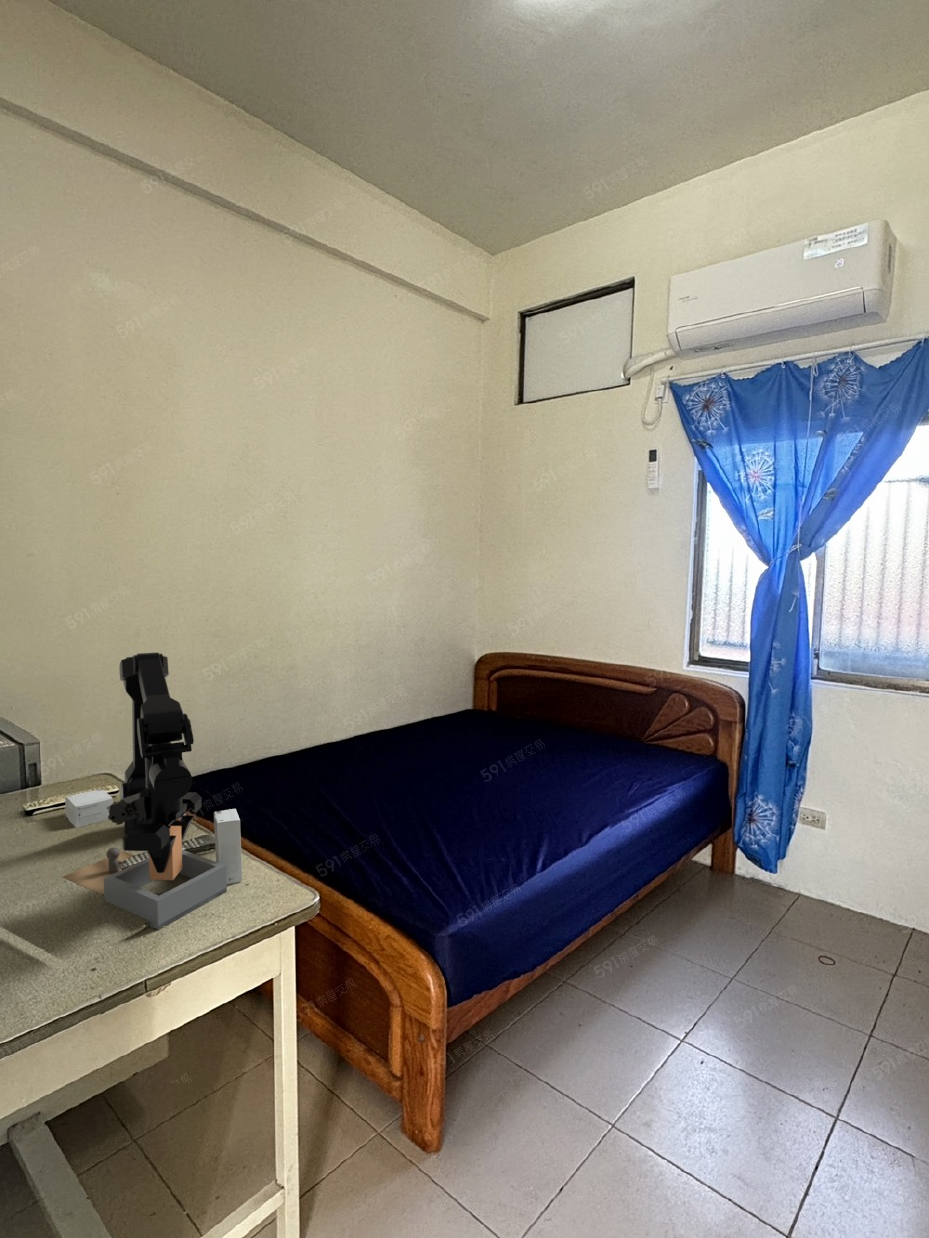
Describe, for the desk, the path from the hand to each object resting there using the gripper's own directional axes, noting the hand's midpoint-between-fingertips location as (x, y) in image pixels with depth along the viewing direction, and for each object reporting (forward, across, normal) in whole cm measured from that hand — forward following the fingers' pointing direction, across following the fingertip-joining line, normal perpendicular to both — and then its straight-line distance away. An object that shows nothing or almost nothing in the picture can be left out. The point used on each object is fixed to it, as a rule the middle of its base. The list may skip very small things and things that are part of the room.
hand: (166, 866), depth 116 cm
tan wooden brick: (+2, 0, 0) cm, 2 cm away
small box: (+6, -34, -31) cm, 46 cm away
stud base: (+6, -7, -13) cm, 16 cm away
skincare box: (+6, -8, +8) cm, 13 cm away
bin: (+6, 0, 0) cm, 6 cm away
